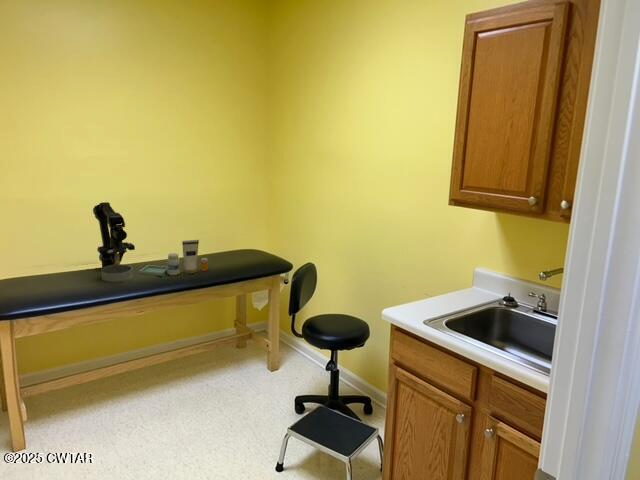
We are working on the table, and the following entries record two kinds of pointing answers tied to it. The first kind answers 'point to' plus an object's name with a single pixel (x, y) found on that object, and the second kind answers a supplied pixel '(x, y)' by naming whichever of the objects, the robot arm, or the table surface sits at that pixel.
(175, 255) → the toiletry set
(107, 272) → the translucent round bowl
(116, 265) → the dowel pin
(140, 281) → the table surface
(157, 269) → the tray
